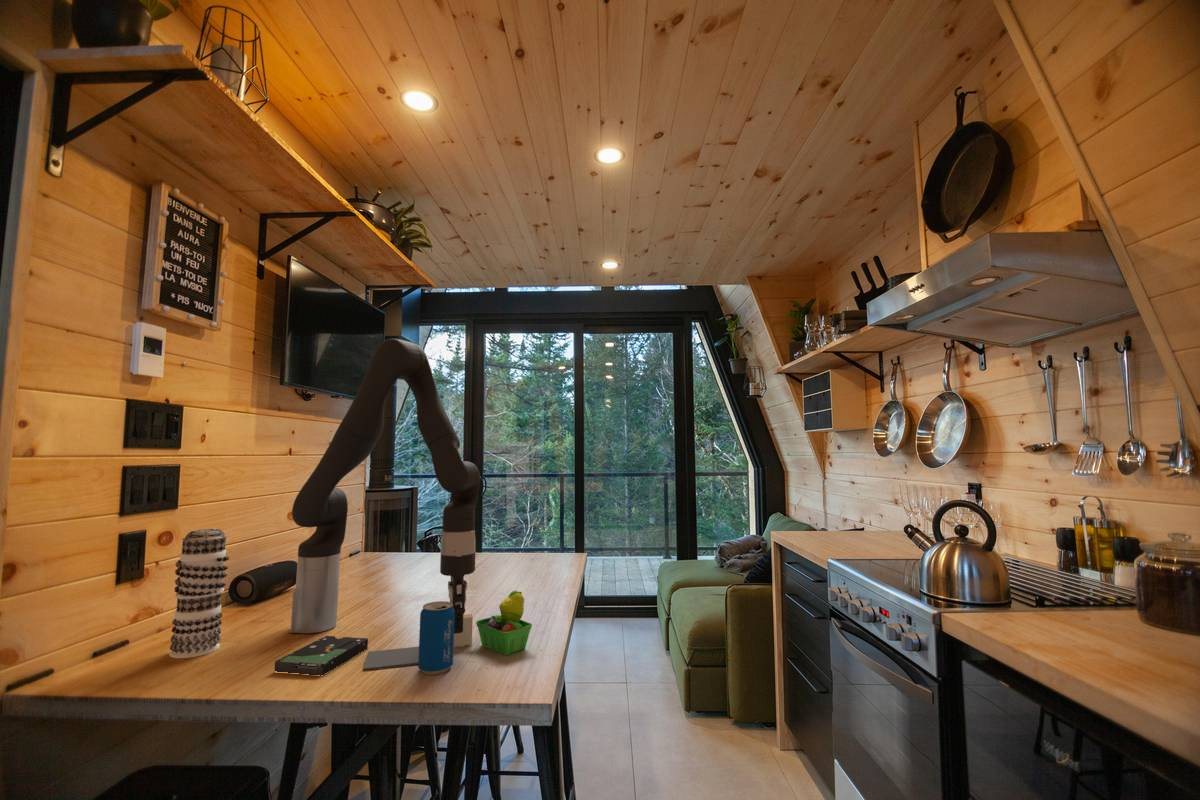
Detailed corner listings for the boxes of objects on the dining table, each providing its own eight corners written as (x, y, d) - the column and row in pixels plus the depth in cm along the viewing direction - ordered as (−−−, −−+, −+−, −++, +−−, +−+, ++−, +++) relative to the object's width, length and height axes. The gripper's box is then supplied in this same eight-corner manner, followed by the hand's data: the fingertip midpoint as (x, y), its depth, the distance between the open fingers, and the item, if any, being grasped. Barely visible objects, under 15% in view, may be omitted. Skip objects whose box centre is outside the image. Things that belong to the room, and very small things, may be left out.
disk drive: (324, 648, 113) (272, 676, 99) (325, 635, 114) (273, 660, 99) (368, 651, 112) (322, 679, 97) (369, 637, 112) (323, 663, 98)
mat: (363, 670, 100) (363, 668, 100) (368, 653, 109) (368, 651, 109) (423, 663, 103) (423, 661, 103) (423, 647, 112) (423, 646, 112)
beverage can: (433, 678, 96) (436, 611, 98) (410, 671, 100) (413, 606, 101) (460, 667, 102) (461, 603, 103) (437, 660, 105) (439, 599, 107)
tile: (438, 648, 112) (439, 619, 113) (438, 645, 114) (439, 616, 115) (471, 645, 114) (472, 616, 115) (470, 641, 116) (471, 613, 117)
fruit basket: (473, 645, 114) (474, 592, 115) (506, 635, 120) (507, 585, 122) (504, 659, 106) (506, 601, 107) (538, 647, 113) (538, 593, 114)
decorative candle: (206, 640, 116) (216, 526, 119) (231, 647, 112) (240, 529, 115) (157, 654, 108) (169, 531, 111) (182, 662, 104) (193, 534, 107)
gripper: (440, 547, 122) (438, 619, 120) (441, 557, 108) (439, 639, 106) (472, 545, 124) (471, 616, 122) (478, 555, 111) (476, 635, 109)
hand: (456, 626), depth 114 cm, fingers open, 8 cm apart
